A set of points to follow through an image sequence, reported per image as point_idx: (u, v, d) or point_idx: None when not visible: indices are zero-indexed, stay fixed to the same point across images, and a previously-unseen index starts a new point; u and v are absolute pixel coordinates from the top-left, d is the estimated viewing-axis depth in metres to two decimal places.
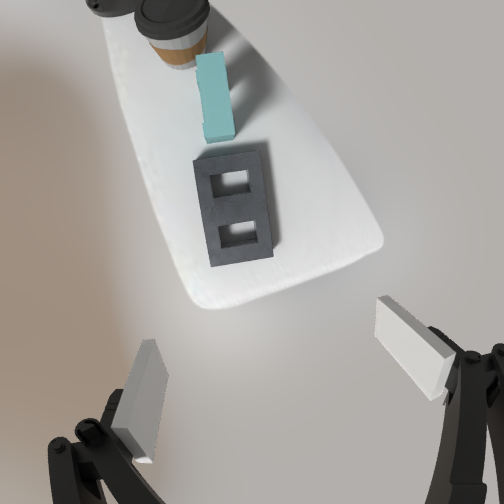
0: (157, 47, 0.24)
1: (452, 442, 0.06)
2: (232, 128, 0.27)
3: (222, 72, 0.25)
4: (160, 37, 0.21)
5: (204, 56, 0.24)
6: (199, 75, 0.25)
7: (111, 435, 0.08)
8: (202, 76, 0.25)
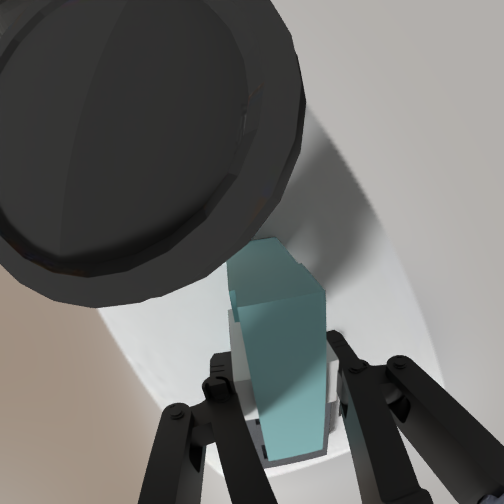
0: None
1: (365, 459, 0.06)
2: (319, 444, 0.12)
3: (318, 354, 0.10)
4: None
5: (266, 311, 0.09)
6: (253, 368, 0.10)
7: None
8: (261, 370, 0.10)
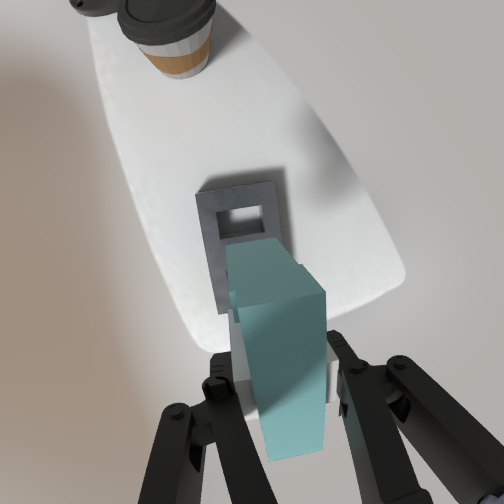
0: (148, 54, 0.19)
1: (365, 459, 0.06)
2: (319, 445, 0.12)
3: (318, 355, 0.10)
4: (151, 42, 0.16)
5: (266, 312, 0.09)
6: (253, 369, 0.10)
7: None
8: (261, 370, 0.10)
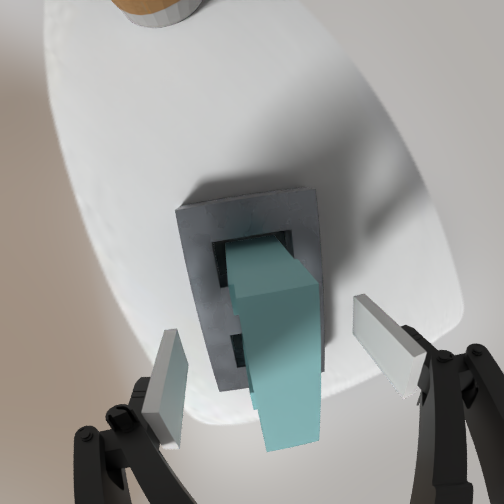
0: None
1: (430, 444, 0.06)
2: (315, 435, 0.13)
3: (312, 345, 0.11)
4: None
5: (263, 302, 0.10)
6: (251, 357, 0.10)
7: (140, 421, 0.09)
8: (258, 359, 0.11)
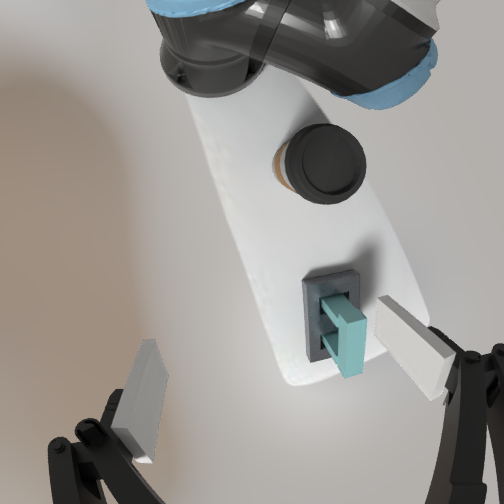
0: (296, 192, 0.30)
1: (452, 442, 0.06)
2: (361, 370, 0.37)
3: (363, 335, 0.35)
4: None
5: (353, 324, 0.34)
6: (347, 339, 0.35)
7: (111, 435, 0.08)
8: (349, 340, 0.35)
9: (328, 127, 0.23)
